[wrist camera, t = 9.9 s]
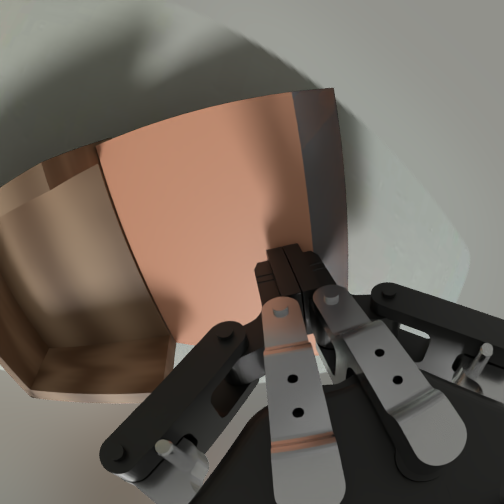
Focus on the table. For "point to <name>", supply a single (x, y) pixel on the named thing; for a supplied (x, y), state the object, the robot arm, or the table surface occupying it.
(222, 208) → the panel
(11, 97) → the table surface
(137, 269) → the box
